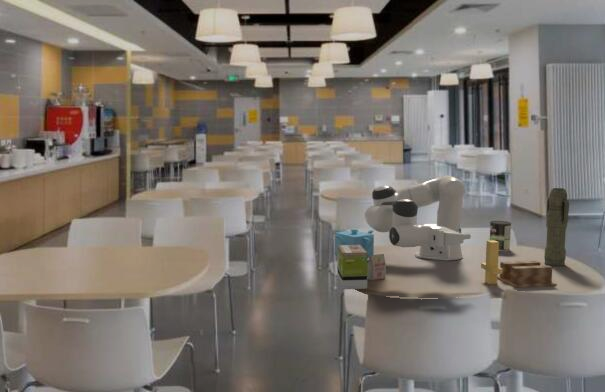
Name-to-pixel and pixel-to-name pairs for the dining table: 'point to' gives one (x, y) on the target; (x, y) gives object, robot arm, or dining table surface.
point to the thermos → (556, 227)
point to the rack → (526, 274)
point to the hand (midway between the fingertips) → (464, 234)
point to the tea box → (352, 266)
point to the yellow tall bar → (491, 262)
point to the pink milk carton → (376, 267)
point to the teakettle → (355, 240)
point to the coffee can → (501, 234)
